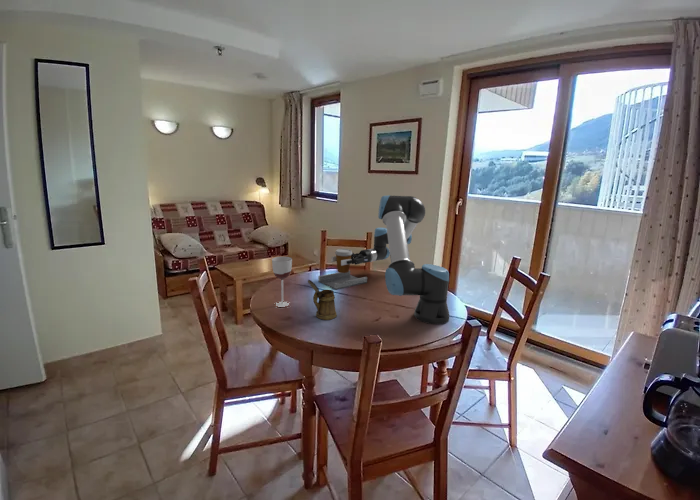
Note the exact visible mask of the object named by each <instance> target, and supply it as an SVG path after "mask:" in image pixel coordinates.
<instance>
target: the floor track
mask: <svg viewBox="0 0 700 500" xmlns="http://www.w3.org/2000/svg"><path fill="white" fill-rule="evenodd" d="M317 280H318V283H320V284H321V285H324V286H327V287H329V288H330V289H333V290H334V291H337V290H341V289H346V288H350V287H355V286H360V285H364V284H367V283H368V277H367V276H363V277H356V276H354V275H352V274H351V270H349V272H347V273H340V272H338V271H337V272H335V273H329V274H324V275H323V274H322V275H319V276H318V279H317Z"/></svg>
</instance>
